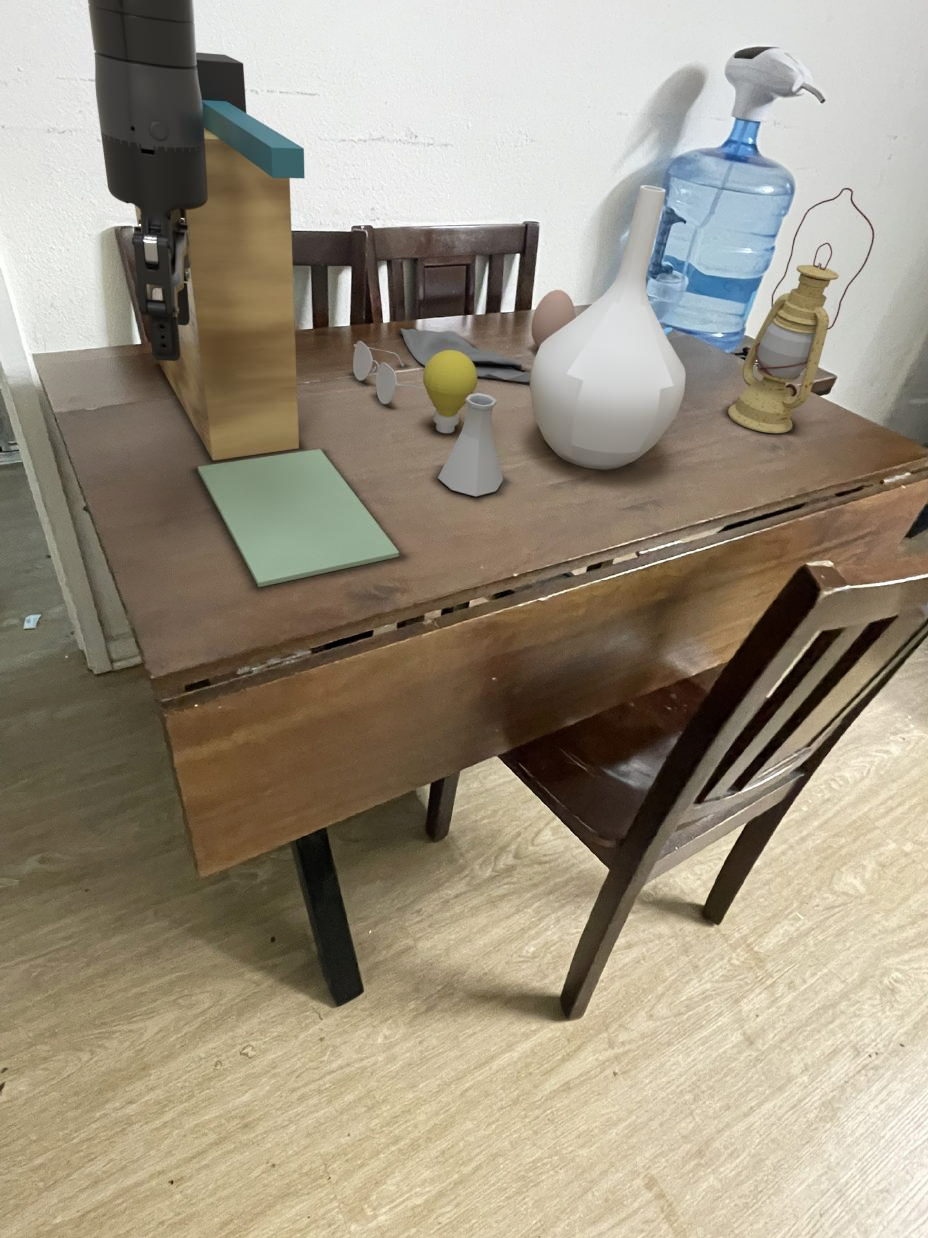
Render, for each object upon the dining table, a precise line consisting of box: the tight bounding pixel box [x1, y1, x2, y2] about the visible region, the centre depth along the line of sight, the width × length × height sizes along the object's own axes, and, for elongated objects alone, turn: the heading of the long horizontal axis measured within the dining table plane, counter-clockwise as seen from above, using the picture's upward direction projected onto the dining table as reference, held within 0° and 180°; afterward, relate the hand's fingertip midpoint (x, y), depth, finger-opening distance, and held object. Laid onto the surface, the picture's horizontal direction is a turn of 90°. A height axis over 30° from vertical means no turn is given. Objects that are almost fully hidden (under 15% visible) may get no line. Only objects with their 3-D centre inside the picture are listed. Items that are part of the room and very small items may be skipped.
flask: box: [437, 392, 504, 497], centre depth 84 cm, size 7×7×10 cm
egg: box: [530, 289, 577, 349], centre depth 118 cm, size 7×7×10 cm
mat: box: [197, 448, 400, 588], centre depth 78 cm, size 22×14×1 cm, turn 28°
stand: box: [134, 127, 300, 461], centre depth 85 cm, size 28×10×31 cm, turn 28°
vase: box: [529, 185, 687, 471], centre depth 87 cm, size 18×18×30 cm
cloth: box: [399, 327, 531, 384], centre depth 114 cm, size 26×14×2 cm, turn 42°
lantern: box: [727, 187, 875, 434], centre depth 100 cm, size 12×10×30 cm
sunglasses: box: [352, 340, 426, 405], centre depth 104 cm, size 14×8×5 cm, turn 30°
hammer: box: [196, 51, 306, 179], centre depth 64 cm, size 28×6×5 cm, turn 28°
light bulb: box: [422, 350, 478, 434], centre depth 93 cm, size 7×7×10 cm
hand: (172, 340), depth 68 cm, fingers open, 8 cm apart
